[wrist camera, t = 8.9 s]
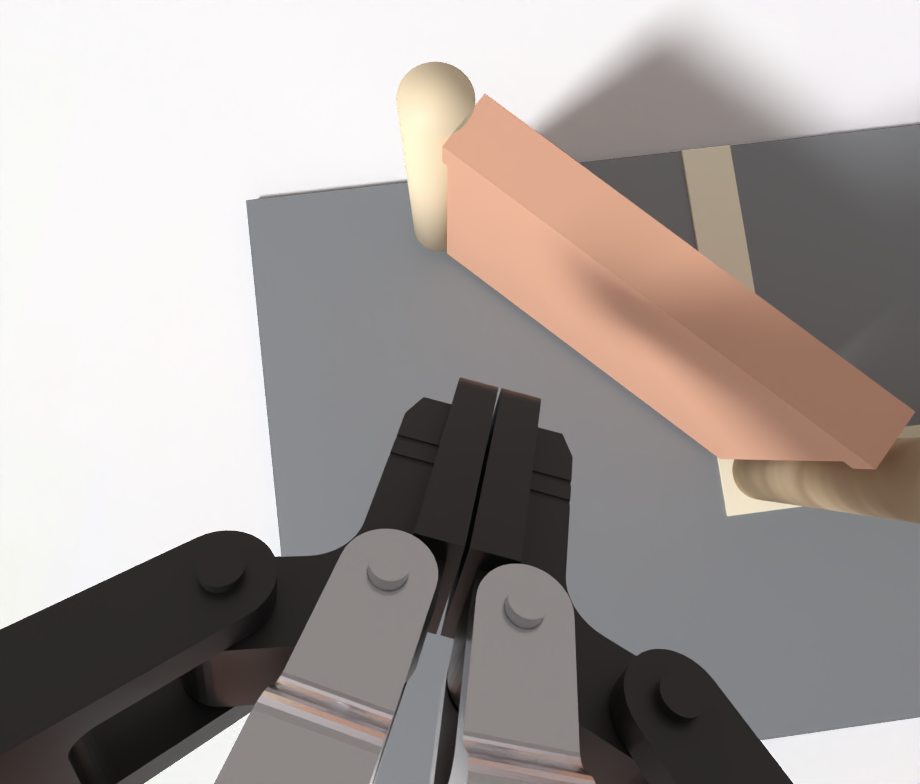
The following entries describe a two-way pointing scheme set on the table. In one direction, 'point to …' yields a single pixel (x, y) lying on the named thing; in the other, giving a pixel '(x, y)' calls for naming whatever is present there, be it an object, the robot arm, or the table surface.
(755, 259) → the card
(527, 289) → the swing fence panel
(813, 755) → the table surface
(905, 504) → the fence post section
